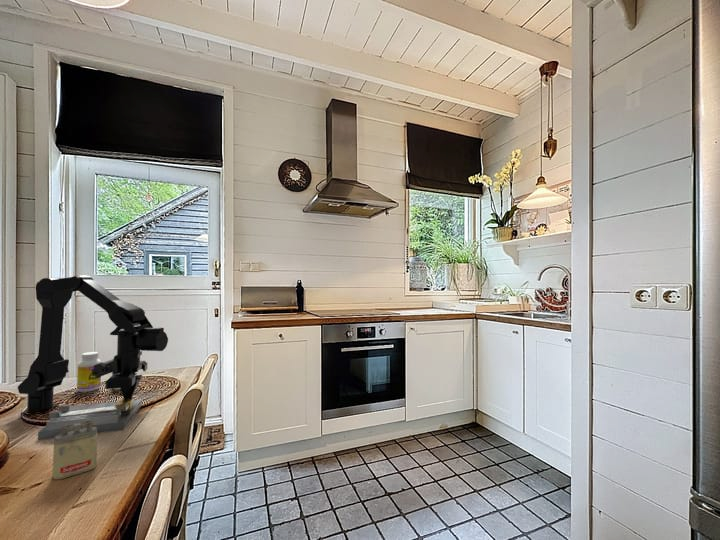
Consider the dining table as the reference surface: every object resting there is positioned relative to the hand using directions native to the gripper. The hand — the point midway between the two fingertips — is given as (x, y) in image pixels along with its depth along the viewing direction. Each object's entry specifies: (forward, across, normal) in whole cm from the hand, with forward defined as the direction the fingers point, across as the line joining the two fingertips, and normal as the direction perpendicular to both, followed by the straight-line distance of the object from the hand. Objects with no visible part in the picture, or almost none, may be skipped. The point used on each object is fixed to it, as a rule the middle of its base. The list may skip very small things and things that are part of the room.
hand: (127, 402), depth 101 cm
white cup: (+4, -28, -9) cm, 30 cm away
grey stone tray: (+3, +4, -6) cm, 8 cm away
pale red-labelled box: (+3, +32, -1) cm, 32 cm away
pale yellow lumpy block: (+1, +4, 0) cm, 4 cm away
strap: (0, +6, -7) cm, 9 cm away
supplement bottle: (+4, -28, -19) cm, 34 cm away
